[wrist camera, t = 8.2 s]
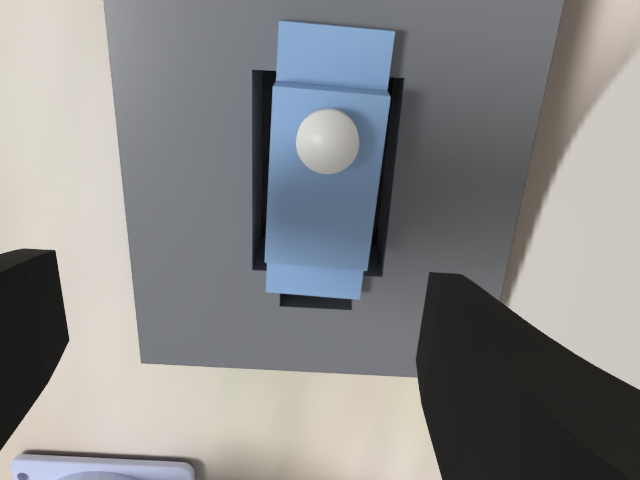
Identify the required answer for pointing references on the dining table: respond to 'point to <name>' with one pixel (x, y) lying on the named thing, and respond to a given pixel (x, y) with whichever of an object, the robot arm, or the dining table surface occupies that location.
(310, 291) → the servo
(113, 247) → the dining table surface
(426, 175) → the chassis
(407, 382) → the dining table surface
